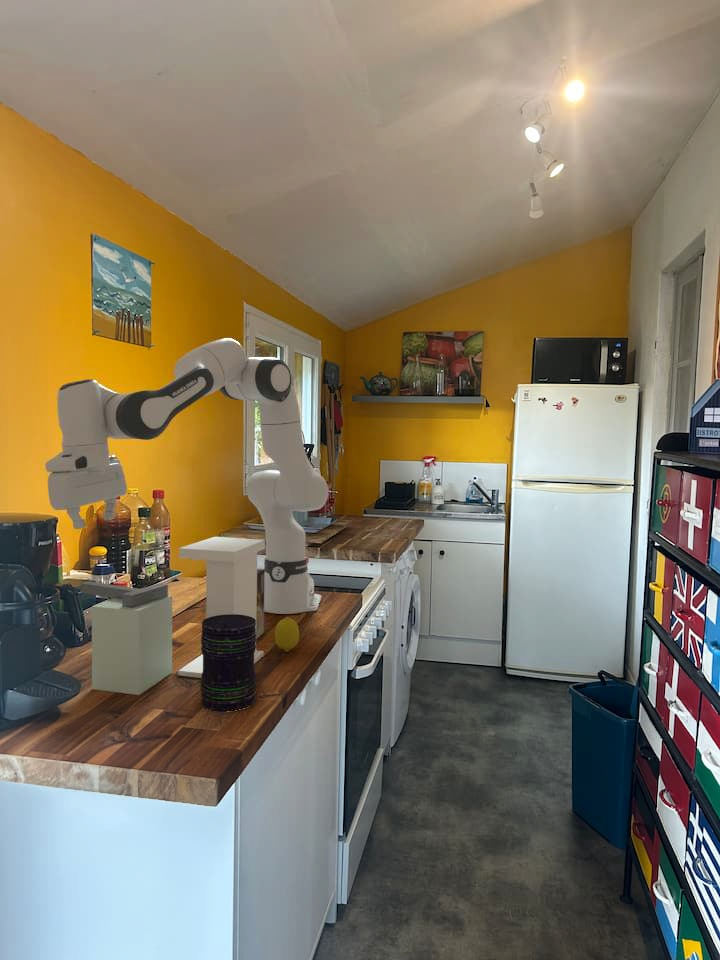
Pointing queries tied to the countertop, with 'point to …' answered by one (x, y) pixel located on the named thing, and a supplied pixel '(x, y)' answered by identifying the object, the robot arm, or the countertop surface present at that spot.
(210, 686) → the storage jar
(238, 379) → the robot arm
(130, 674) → the block
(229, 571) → the shelf
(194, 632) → the countertop surface
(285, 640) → the lemon
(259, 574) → the coffee box
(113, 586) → the t key
